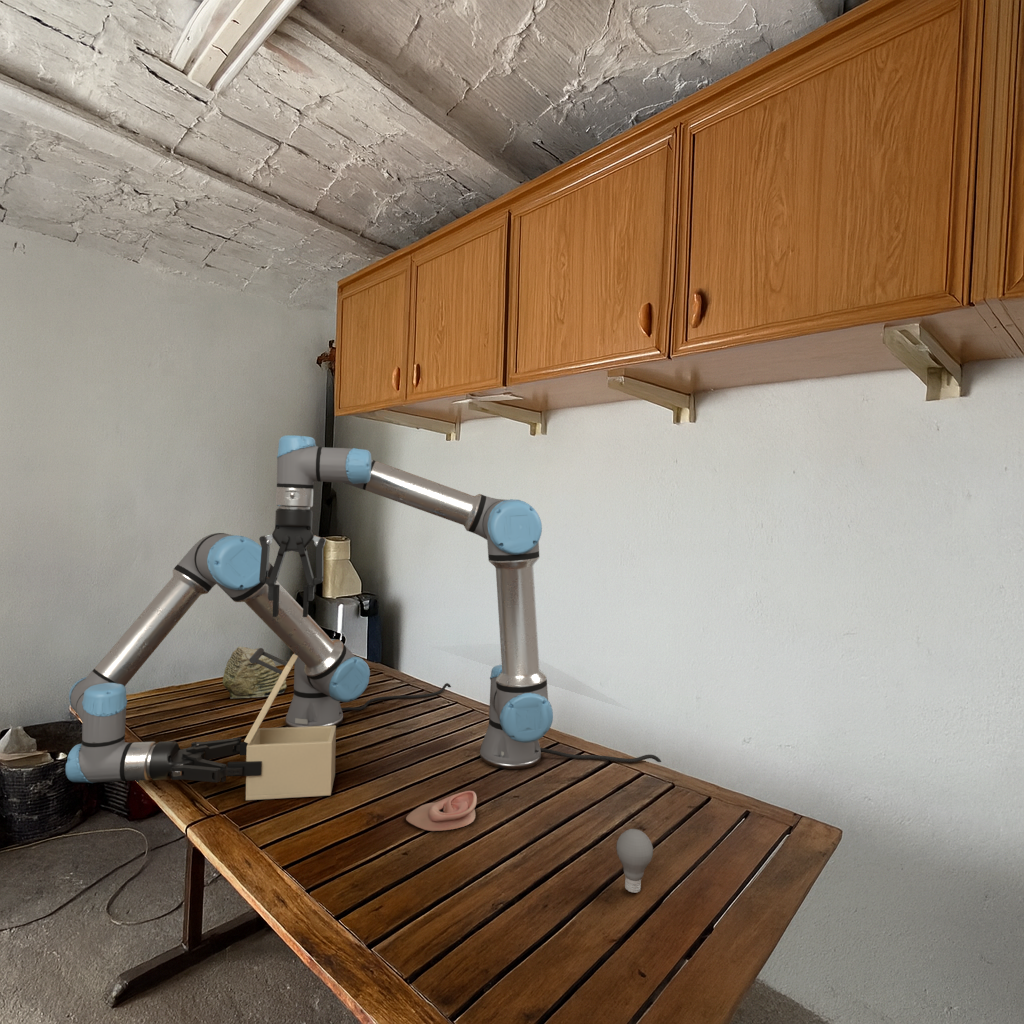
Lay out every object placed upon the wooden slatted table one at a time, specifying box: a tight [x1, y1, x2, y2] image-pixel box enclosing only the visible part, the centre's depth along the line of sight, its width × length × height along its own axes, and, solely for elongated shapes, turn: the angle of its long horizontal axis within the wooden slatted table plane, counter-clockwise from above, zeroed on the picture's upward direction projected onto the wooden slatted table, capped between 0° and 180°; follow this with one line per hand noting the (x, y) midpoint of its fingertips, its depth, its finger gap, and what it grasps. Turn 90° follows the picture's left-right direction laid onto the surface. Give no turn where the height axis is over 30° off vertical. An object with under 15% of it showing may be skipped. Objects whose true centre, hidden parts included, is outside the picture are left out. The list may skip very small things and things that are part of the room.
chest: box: [245, 725, 337, 801], centre depth 137 cm, size 17×10×11 cm, turn 101°
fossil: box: [222, 646, 288, 699], centre depth 198 cm, size 9×18×15 cm, turn 132°
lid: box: [243, 647, 298, 744], centre depth 135 cm, size 18×10×8 cm
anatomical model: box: [405, 790, 478, 832], centre depth 127 cm, size 13×4×12 cm
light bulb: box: [615, 828, 654, 894], centre depth 106 cm, size 6×6×10 cm
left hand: (266, 757), depth 136 cm, fingers closed on chest, 10 cm apart
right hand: (290, 615), depth 136 cm, fingers open, 5 cm apart
